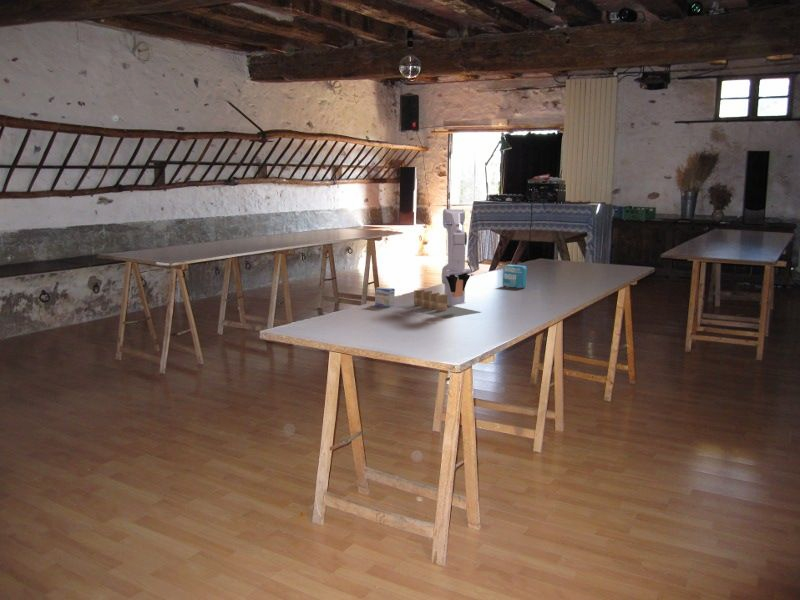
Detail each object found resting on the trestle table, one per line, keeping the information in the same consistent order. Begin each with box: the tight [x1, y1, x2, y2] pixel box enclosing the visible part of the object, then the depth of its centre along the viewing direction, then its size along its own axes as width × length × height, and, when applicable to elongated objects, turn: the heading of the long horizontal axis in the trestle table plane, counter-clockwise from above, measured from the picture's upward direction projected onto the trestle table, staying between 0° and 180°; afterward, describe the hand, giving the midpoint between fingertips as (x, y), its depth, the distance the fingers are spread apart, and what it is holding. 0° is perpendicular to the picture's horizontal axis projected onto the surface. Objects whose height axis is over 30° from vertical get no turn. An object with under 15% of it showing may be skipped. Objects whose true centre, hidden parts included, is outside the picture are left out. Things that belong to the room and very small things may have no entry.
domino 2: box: [421, 290, 433, 308], centre depth 309 cm, size 2×5×7 cm, turn 130°
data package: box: [502, 264, 528, 289], centre depth 371 cm, size 12×4×12 cm, turn 58°
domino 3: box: [429, 291, 440, 310], centre depth 305 cm, size 2×5×7 cm, turn 130°
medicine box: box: [374, 286, 396, 308], centre depth 311 cm, size 8×4×9 cm, turn 62°
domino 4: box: [436, 293, 448, 312], centre depth 301 cm, size 2×5×7 cm, turn 130°
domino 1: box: [413, 289, 426, 306], centre depth 313 cm, size 2×5×7 cm, turn 130°
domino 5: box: [452, 279, 463, 297], centre depth 297 cm, size 2×5×7 cm, turn 131°
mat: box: [397, 303, 482, 319], centre depth 305 cm, size 22×32×1 cm
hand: (457, 291), depth 297 cm, fingers closed on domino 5, 5 cm apart
